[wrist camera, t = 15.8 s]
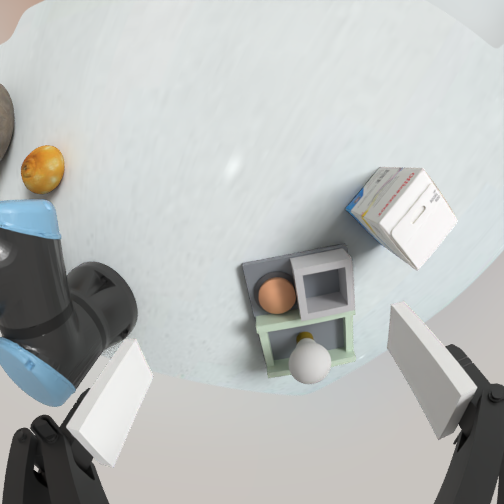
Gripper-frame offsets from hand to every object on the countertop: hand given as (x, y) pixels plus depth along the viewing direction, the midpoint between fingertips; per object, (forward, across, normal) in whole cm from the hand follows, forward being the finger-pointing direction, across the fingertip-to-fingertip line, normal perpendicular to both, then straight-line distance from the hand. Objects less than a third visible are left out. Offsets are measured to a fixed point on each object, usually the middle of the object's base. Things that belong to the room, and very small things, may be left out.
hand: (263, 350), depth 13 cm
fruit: (+27, -33, +17) cm, 46 cm away
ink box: (+27, +18, +1) cm, 32 cm away
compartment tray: (+26, +4, -14) cm, 30 cm away
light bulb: (+25, +4, -18) cm, 31 cm away
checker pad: (+25, +1, -9) cm, 26 cm away
